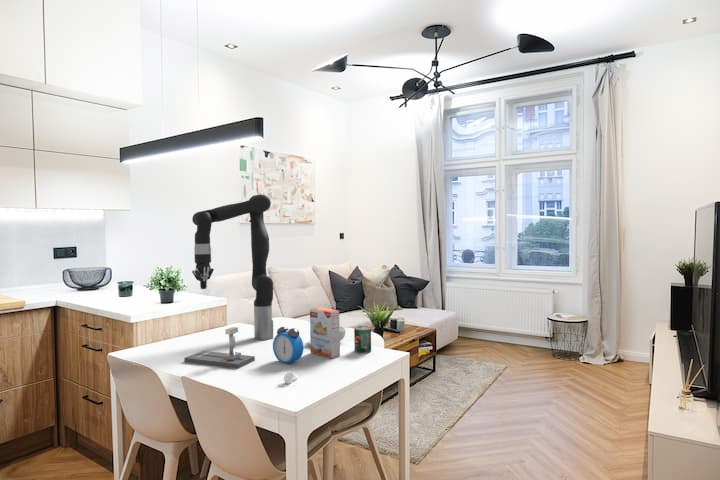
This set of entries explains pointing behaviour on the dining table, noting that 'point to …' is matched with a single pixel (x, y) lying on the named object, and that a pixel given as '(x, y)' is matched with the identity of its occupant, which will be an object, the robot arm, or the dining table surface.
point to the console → (218, 359)
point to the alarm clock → (287, 345)
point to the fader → (232, 344)
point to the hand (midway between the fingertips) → (203, 288)
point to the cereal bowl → (342, 333)
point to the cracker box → (325, 332)
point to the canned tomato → (362, 339)
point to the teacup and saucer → (289, 379)
